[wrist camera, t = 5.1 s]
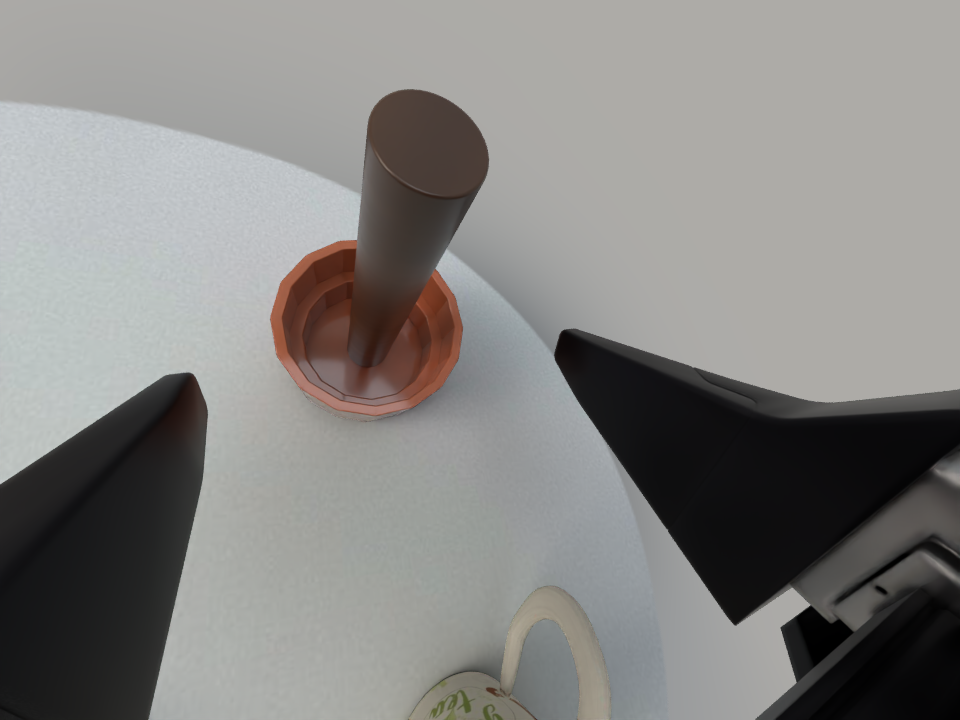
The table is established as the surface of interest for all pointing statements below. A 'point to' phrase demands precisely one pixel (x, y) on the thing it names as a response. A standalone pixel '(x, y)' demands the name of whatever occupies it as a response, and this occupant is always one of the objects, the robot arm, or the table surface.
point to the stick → (408, 210)
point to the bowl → (324, 339)
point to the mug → (489, 704)
